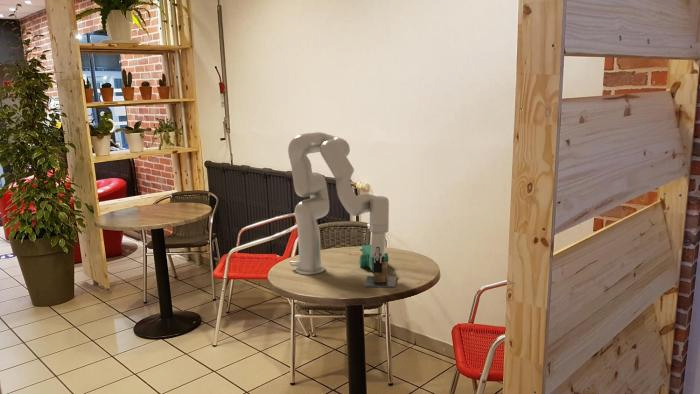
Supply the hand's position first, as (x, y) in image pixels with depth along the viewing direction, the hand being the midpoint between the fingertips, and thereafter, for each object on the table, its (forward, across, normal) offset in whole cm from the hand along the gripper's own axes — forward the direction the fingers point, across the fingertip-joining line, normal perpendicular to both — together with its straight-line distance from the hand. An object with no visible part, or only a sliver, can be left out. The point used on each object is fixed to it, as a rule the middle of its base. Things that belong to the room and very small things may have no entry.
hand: (378, 268), depth 212 cm
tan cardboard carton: (+5, 0, +1) cm, 5 cm away
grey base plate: (+6, 0, +1) cm, 6 cm away
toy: (+7, -23, -4) cm, 24 cm away
